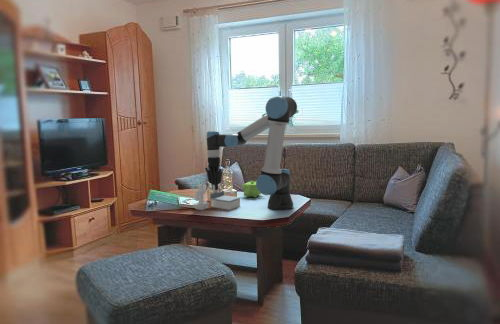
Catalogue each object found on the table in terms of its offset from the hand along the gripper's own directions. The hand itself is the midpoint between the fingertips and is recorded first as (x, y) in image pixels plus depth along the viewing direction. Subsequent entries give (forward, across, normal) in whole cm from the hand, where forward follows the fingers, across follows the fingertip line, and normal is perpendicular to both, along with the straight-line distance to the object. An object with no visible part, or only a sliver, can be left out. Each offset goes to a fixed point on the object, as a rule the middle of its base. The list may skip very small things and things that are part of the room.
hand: (215, 194), depth 223 cm
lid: (+2, -8, 0) cm, 8 cm away
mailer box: (+7, -8, 0) cm, 11 cm away
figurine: (+7, +1, +12) cm, 14 cm away
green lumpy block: (+7, -4, -34) cm, 35 cm away
